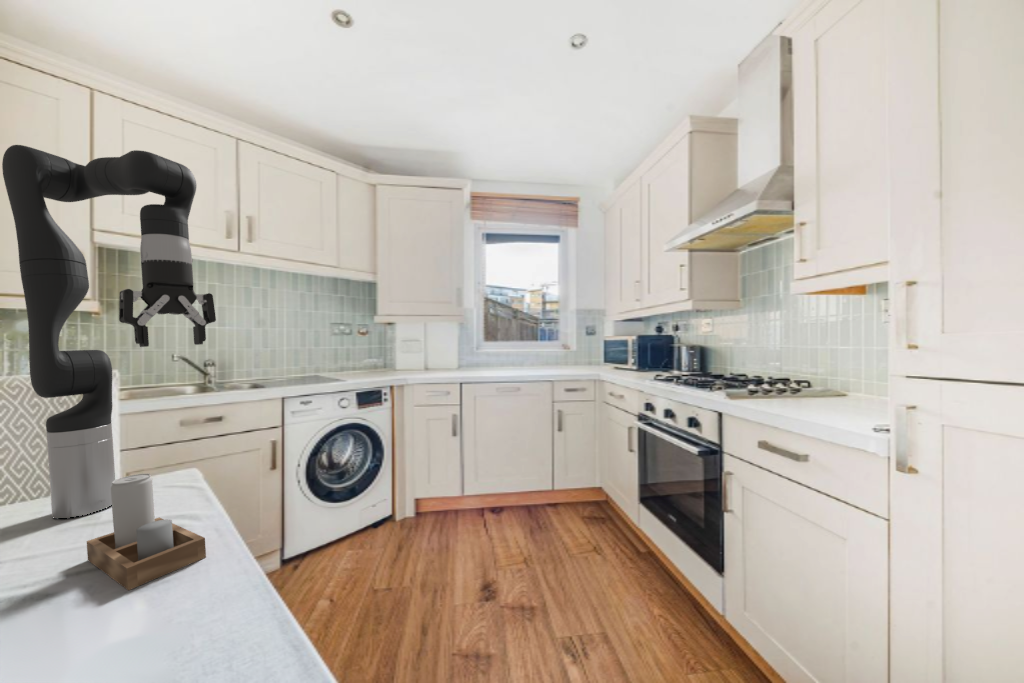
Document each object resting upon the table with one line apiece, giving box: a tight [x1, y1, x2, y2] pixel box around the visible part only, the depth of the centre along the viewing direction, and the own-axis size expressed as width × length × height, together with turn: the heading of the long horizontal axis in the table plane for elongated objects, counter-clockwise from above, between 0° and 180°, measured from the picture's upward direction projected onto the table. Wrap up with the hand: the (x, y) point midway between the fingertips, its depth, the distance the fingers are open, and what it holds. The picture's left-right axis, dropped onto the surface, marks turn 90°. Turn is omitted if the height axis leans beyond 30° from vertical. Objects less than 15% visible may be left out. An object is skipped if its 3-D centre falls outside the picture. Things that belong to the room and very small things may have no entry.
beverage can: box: [111, 473, 156, 549], centre depth 64 cm, size 5×5×12 cm
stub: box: [136, 518, 174, 561], centre depth 60 cm, size 4×4×6 cm
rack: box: [86, 517, 207, 591], centre depth 62 cm, size 17×9×3 cm, turn 59°
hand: (172, 345), depth 78 cm, fingers open, 8 cm apart
